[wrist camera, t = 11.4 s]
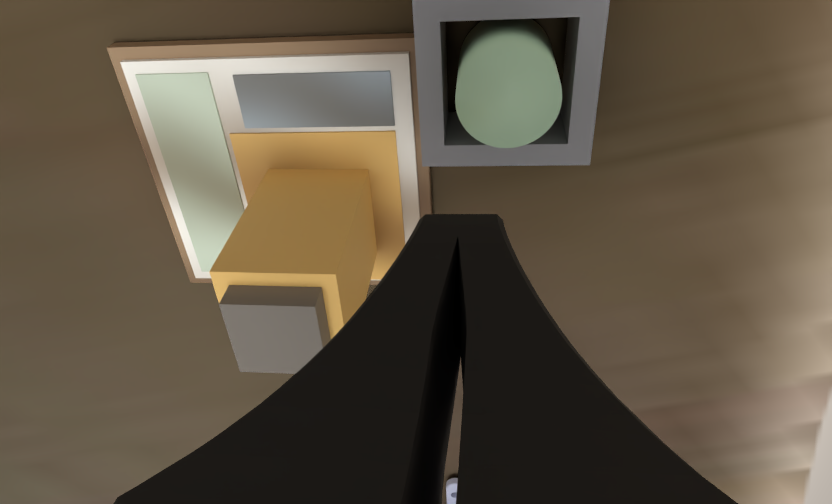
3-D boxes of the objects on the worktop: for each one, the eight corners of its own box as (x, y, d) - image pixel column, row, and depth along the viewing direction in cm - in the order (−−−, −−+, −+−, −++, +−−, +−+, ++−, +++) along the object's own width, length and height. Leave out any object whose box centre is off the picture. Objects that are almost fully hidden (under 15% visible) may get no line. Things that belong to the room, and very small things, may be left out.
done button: (549, 103, 19) (558, 147, 17) (460, 105, 20) (456, 148, 17) (556, 11, 18) (566, 45, 15) (458, 14, 18) (453, 49, 16)
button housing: (580, 129, 20) (589, 165, 18) (428, 131, 21) (422, 166, 19) (597, -35, 17) (611, -14, 15) (419, -28, 18) (411, -6, 16)
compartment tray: (435, 277, 25) (434, 290, 24) (195, 274, 26) (188, 287, 25) (422, 32, 19) (420, 40, 18) (114, 42, 20) (102, 50, 19)
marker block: (377, 252, 23) (345, 386, 18) (285, 250, 23) (228, 381, 18) (368, 169, 21) (329, 294, 16) (268, 169, 21) (198, 291, 16)
